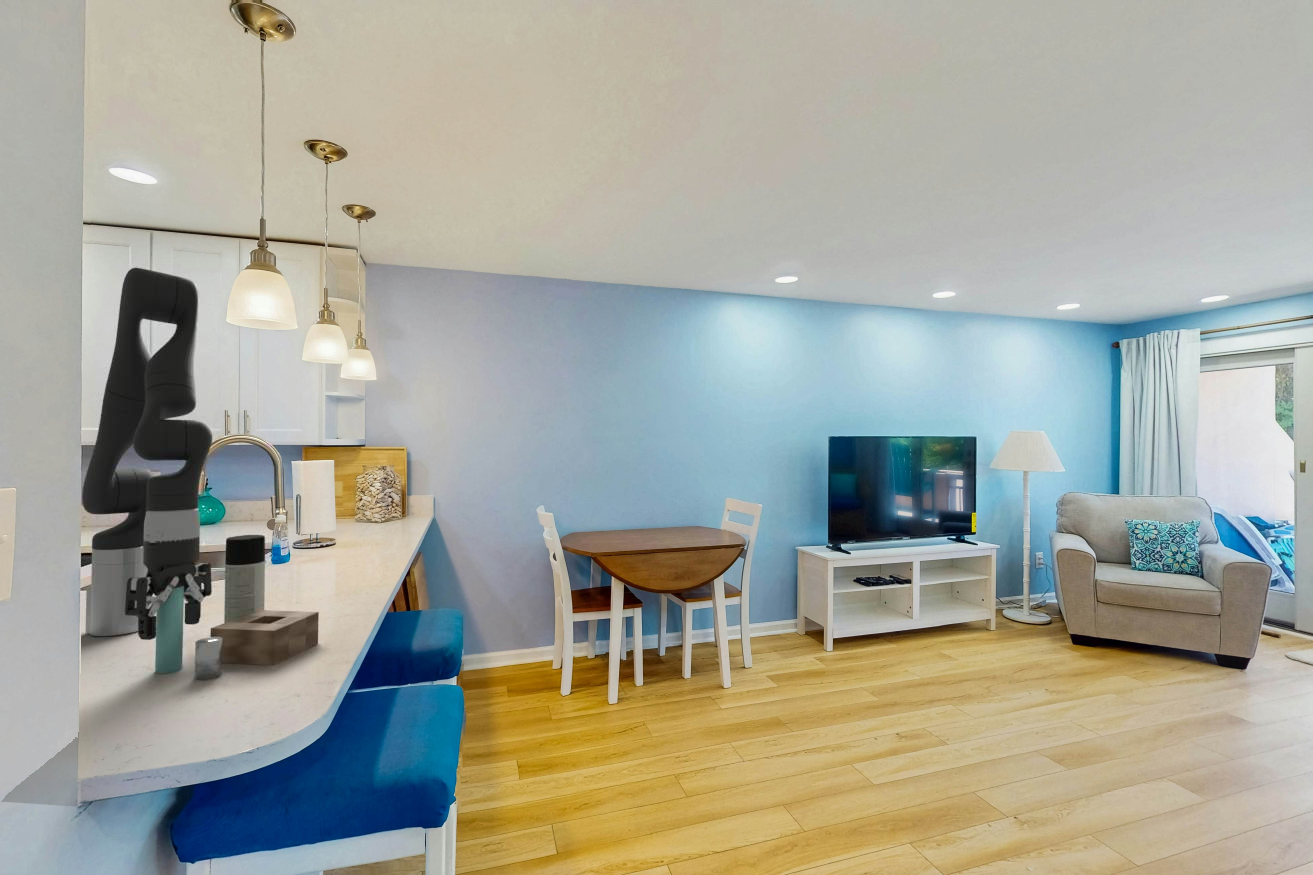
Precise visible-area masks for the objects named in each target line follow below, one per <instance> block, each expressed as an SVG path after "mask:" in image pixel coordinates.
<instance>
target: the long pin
mask: <svg viewBox="0 0 1313 875" xmlns="http://www.w3.org/2000/svg"><path fill="white" fill-rule="evenodd" d="M184 601H185V599H184V586H182V587H178V588H174V589H172V591H171V594H170V597H169V598H167V599H166V601H165V602H164V603H163V604H161V605H160V607H159V608H158V610H157V612H156V613H155V616H156V637H155V656H154V657H155V658H154V659H155V660H154V662H155V663H154V665H155V666H154V667H155V668H154V670H155V672H154V673H155V674H159V675H161V674H163V675H165V674H171V673H174V672H178V671H180V670H181V669H183V653H184V652H183V651H184V650H183V647H184V646H183V645H184V644H183V642H184V609H185V602H184Z"/></svg>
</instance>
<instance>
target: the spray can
mask: <svg viewBox="0 0 1313 875" xmlns="http://www.w3.org/2000/svg"><path fill="white" fill-rule="evenodd" d="M224 564H225V565H224V566H225V567H224V573H225V574H224V577H225V578H224V617H223V618H224V620H223V622H224V623H227V622H229V621H232V620H235V619H238V618H240V617H243V616H246V615H249V614H251V613H254V612H257V611H260V610H265V590H266V588H265V586H266V585H265V584H266V582H265V580H266V579H265V578H266V536H265V535H262V534H244V535H236V536H235V535H234V536H229V537H226V539H225V561H224ZM224 623H223V624H224Z"/></svg>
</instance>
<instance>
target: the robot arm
mask: <svg viewBox="0 0 1313 875" xmlns="http://www.w3.org/2000/svg"><path fill="white" fill-rule="evenodd" d="M199 314H200V293H199V289H198V286H197V284H196V283H195V282H194V281H193V280H191V279H188V278H185V277H181V276H178V275H173V274H170V273H165V272H161V271H155V270H151V269H146V268H143V267H132V268H131V269H129V270H128V272H126V274H125V276H124V278H123V283H122V288H121V295H120V302H119V310H118V320H117V328H116V329H117V330H116V338H115V344H114V349H113V353H112V354H113V355H112V358H111V359H112V360H111V362H110V367H109V371H108V375H107V380H106V383H105V388H104V393H103V398H102V404H101V413H100V418H99V425H98V431H97V436H96V440H95V444H94V448H93V450H92V454H91V458H90V461H89V463H88V467H87V471H86V474H85V478H84V482H83V485H82V492H81V501H82V506H83V509H84V510H85V512H87V513H88V514H91V515H99V516H100V515H114V514H115V515H117V514H128V515H127V517H126V518H125V519H124V520H123V521H121V522H120V523H118V524H117V525H115V526H113V527H110V528H107V529H105V530H102V531H99V532H97V533H94V535H93V536H92V539H91V577H90V578H91V580H90V582H91V583H90V584H88V586H86V590H85V591H86V592H85V593H86V594H85V596H86V597H85V598H86V599H85V634H89V635H90V636H92V637H110V636H119V635H126V634H132V633H135V632H137V636H138V637H139V638H140V640H144V641H151V640H153V639H156V612H157V610H158V608H159V607H160V605H161V604H163V603H164V602H165V601H166V599H167V598H169V597H170V594H171V591H172V589H174V588H178V587H182V586H184V601H186V602H184V624H185V625H192V626H193V625H196V624H197V625H198V624H199V623H200V619H201V617H202V616H201V614H202V612H201V610H202V608H201V607H202V605H201V604H202V602H203V600H204V599H205V598H206V597H209V596H211V595H212V592H213V591H212V590H213V589H212V565H211V563H209V562H204V563H203V562H198V561H199V560H200V539H201V537H200V536H201V534H200V533H201V531H200V530H201V520H200V513H199V491H200V490H199V488H200V483H201V482H200V481H201V476H202V471H203V468H204V465H205V462H206V460H207V457H208V455H209V454H210V453H209V452H210V449H211V447H212V444H213V433H212V430H211V428H210V427H209V425H208V424H207V423H205V422H204V421H201V420H195V419H194V420H193V419H173V418H177V417H184V416H187V415H188V414H190V413H193V411H194V410H196V406H197V396H196V385H195V384H196V381H195V354H196V346H197V337H198V328H199V327H198V325H199V317H200V316H199ZM143 320H147V321H153V322H159V323H165V324H173V325H176V327H175V331H174V333H173V335H172V336H171V338H170V339H168V340H167V342H165V344H163V346H162V347H160V348H159V349H158V350H157V351H156V352H155V353H154V354H153V355H152V353H151V352H150V350H149V348H148V346H147V343H146V341H145V339H144V335H143V332H142V322H143ZM131 447H133V449H134V452H135V453H136V454H137V455H138V457H140V458H141V459H143V460H145V461H150V462H151V461H152V462H154V461H157V462H159V461H185V464H184V465H183V466H182V468H180V469H179V470H177V471H175V472H170V473H163V474H159V475H154V474H153V472H152V471H151V470H150V469H148V468H143V467H141V468H139V467H137V468H135V467H134V468H133V467H132V468H128V467H127V468H117V466H118V465H119V462H120V461H121V459H122V457H123V456H124V454H126V452H127V451H128V450H129V449H130V448H131ZM202 584H203V588H202ZM153 595H154V596H153Z"/></svg>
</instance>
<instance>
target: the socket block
mask: <svg viewBox="0 0 1313 875" xmlns="http://www.w3.org/2000/svg"><path fill="white" fill-rule="evenodd" d="M319 613H320V612H319V611H300V610H299V611H298V610H297V611H295V610H270V609H269V610H267V609H264V610H260V611H257V612H254V613H251V614H249V615H246V616H243V617H240V618H238V619H235V620H232V621H229V622H227V623H221V624H218V625H216V626H213V627H210V636H209V637H222V664H235V665H236V664H237V665H238V664H239V665H243V664H244V665H260V666H261V665H265V666H276V665H277V664H279V663H281V662H283V661H285V660H288V659H289V658H292V657H293V656H296V655H297V654H299V653H301V652H303V651H305V650H307V649H309V648H311V647H313V646H315V645H317V644H318V643H319V618H320V616H319Z"/></svg>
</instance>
